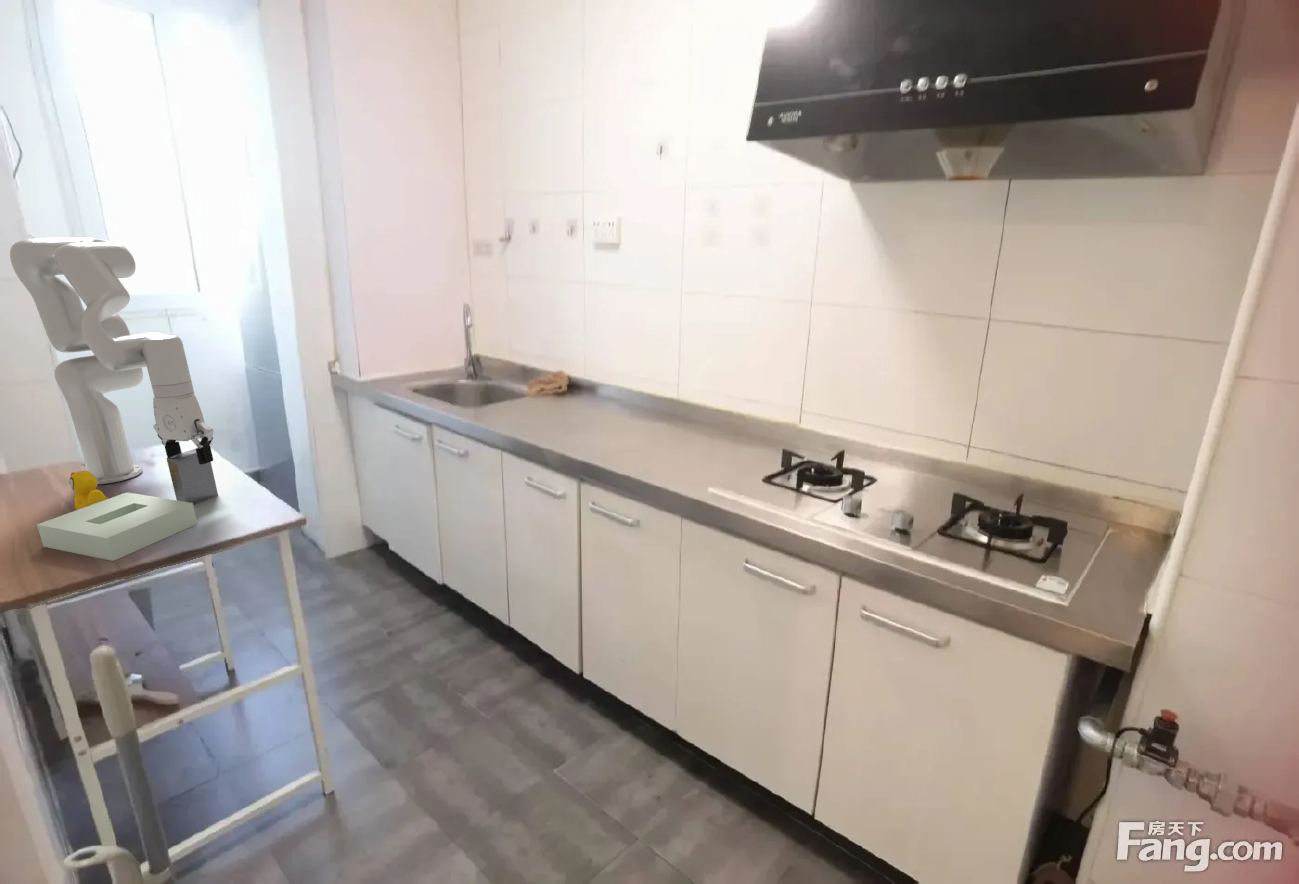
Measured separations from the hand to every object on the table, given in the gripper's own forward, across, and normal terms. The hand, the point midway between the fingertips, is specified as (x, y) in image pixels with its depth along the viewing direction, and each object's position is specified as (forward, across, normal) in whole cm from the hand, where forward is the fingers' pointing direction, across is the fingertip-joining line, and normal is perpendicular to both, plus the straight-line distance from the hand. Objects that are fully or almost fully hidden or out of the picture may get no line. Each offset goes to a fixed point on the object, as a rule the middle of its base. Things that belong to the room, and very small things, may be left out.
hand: (191, 461), depth 156 cm
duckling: (+10, -17, -13) cm, 23 cm away
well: (+10, +1, -19) cm, 22 cm away
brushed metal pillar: (+10, -1, 0) cm, 10 cm away
